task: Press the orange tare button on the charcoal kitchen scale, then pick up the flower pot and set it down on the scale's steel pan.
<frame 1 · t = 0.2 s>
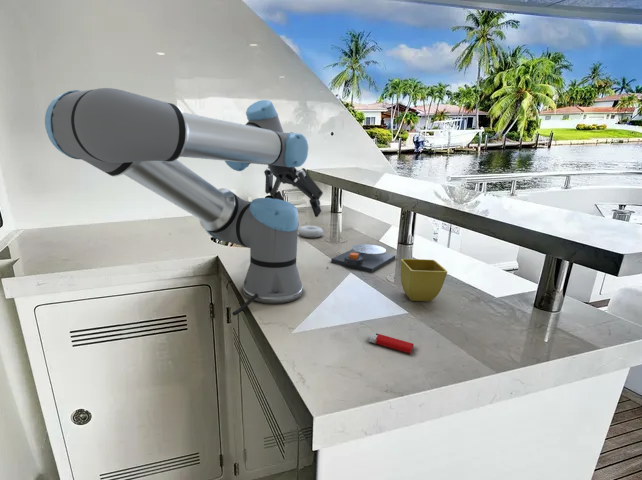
hand: (300, 211, 122), 15 cm above the worktop, tool tilted 35°, fingers open, 13 cm apart
scale: (363, 260, 124), on the worktop
tare button: (353, 256, 118), point 3 cm above the worktop, slide at 0.1 cm
flower pot: (417, 298, 97), on the worktop
scale pan: (367, 258, 126), resting on scale
donut: (310, 236, 154), on the worktop
lighter: (390, 346, 75), on the worktop
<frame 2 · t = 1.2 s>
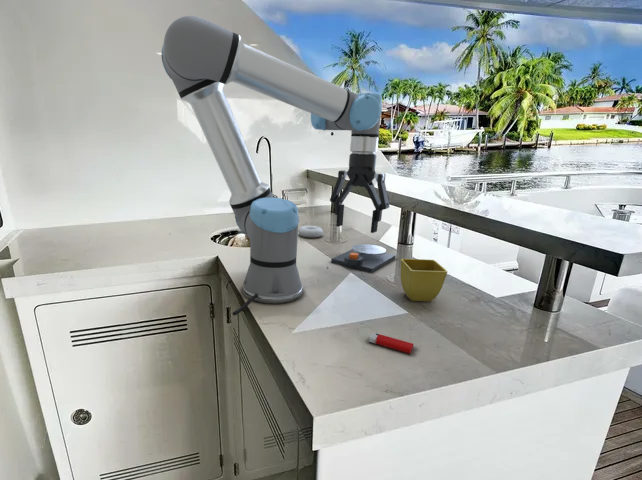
hand: (356, 228, 115), 12 cm above the worktop, tool pointing down, fingers open, 11 cm apart
nothing on the worktop moved.
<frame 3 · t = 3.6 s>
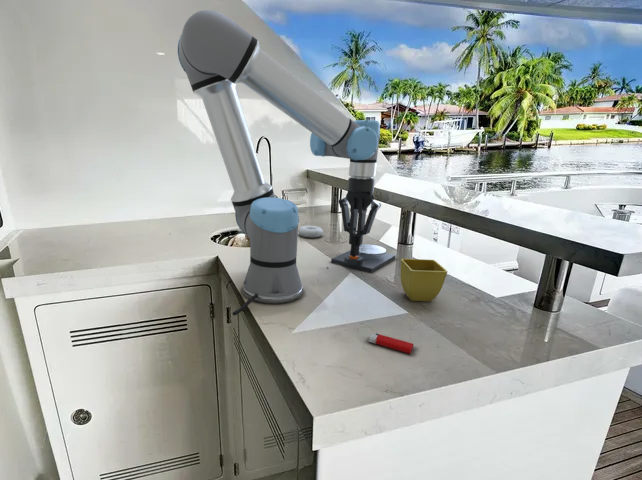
hand: (354, 254, 117), 4 cm above the worktop, tool pointing down, fingers closed
tare button: (353, 258, 118), point 3 cm above the worktop, slide at -0.5 cm, touching gripper
everything else where it was.
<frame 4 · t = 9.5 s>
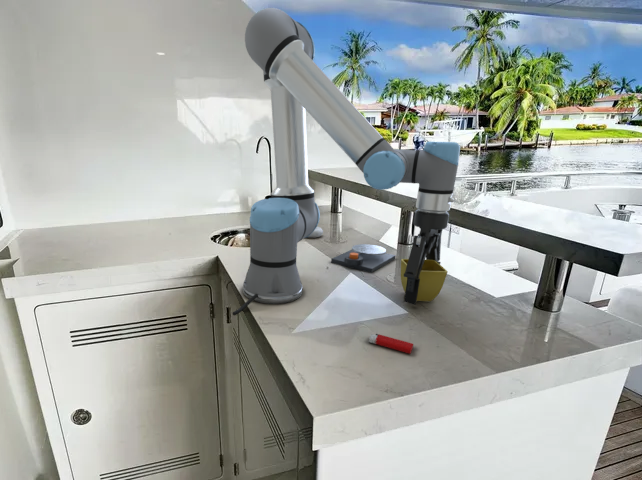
hand: (418, 295, 96), 1 cm above the worktop, tool pointing down, fingers closed on flower pot, 11 cm apart
tare button: (353, 256, 118), point 3 cm above the worktop, slide at 0.1 cm
flower pot: (417, 298, 97), on the worktop, touching gripper
everything else where it was.
when the fingers open (4 cm above the worktop, at t = 17.6 s): flower pot stays where it is, resting on scale pan.
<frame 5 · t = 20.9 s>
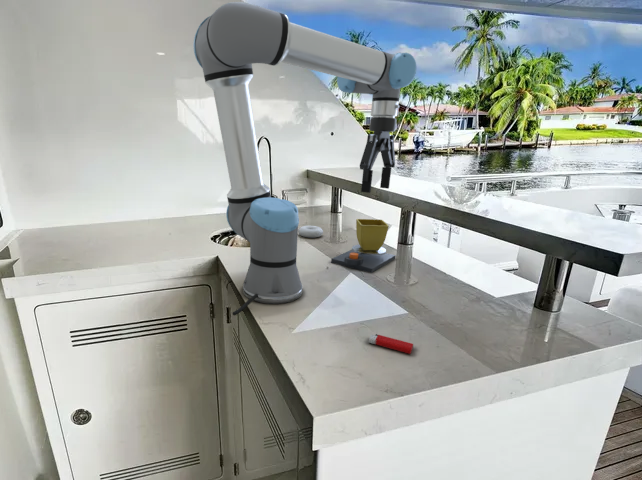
hand: (375, 190, 119), 23 cm above the worktop, tool pointing down, fingers open, 13 cm apart
flower pot: (369, 249, 125), point 3 cm above the worktop, touching scale pan
everything else where it was.
at the end: tare button pushed in 0.8 cm at the most during the clip, back to where it started at the end; flower pot inside the target area on the scale (0.2 cm from its centre), point 3.3 cm above the scale's base; flower pot tilted 0° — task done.
